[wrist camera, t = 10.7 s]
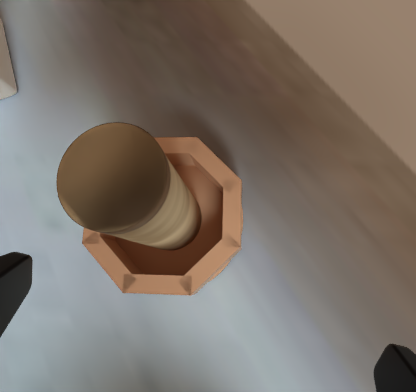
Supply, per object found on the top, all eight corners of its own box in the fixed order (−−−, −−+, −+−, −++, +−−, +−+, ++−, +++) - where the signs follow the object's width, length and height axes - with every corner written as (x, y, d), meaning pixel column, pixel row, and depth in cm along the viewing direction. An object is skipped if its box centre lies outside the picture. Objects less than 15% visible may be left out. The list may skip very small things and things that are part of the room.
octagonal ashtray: (97, 290, 22) (75, 292, 19) (110, 153, 24) (92, 136, 21) (242, 295, 21) (241, 299, 18) (243, 152, 23) (243, 134, 20)
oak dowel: (137, 250, 22) (49, 231, 12) (141, 187, 23) (63, 123, 13) (201, 251, 21) (163, 233, 12) (203, 188, 22) (170, 121, 12)
